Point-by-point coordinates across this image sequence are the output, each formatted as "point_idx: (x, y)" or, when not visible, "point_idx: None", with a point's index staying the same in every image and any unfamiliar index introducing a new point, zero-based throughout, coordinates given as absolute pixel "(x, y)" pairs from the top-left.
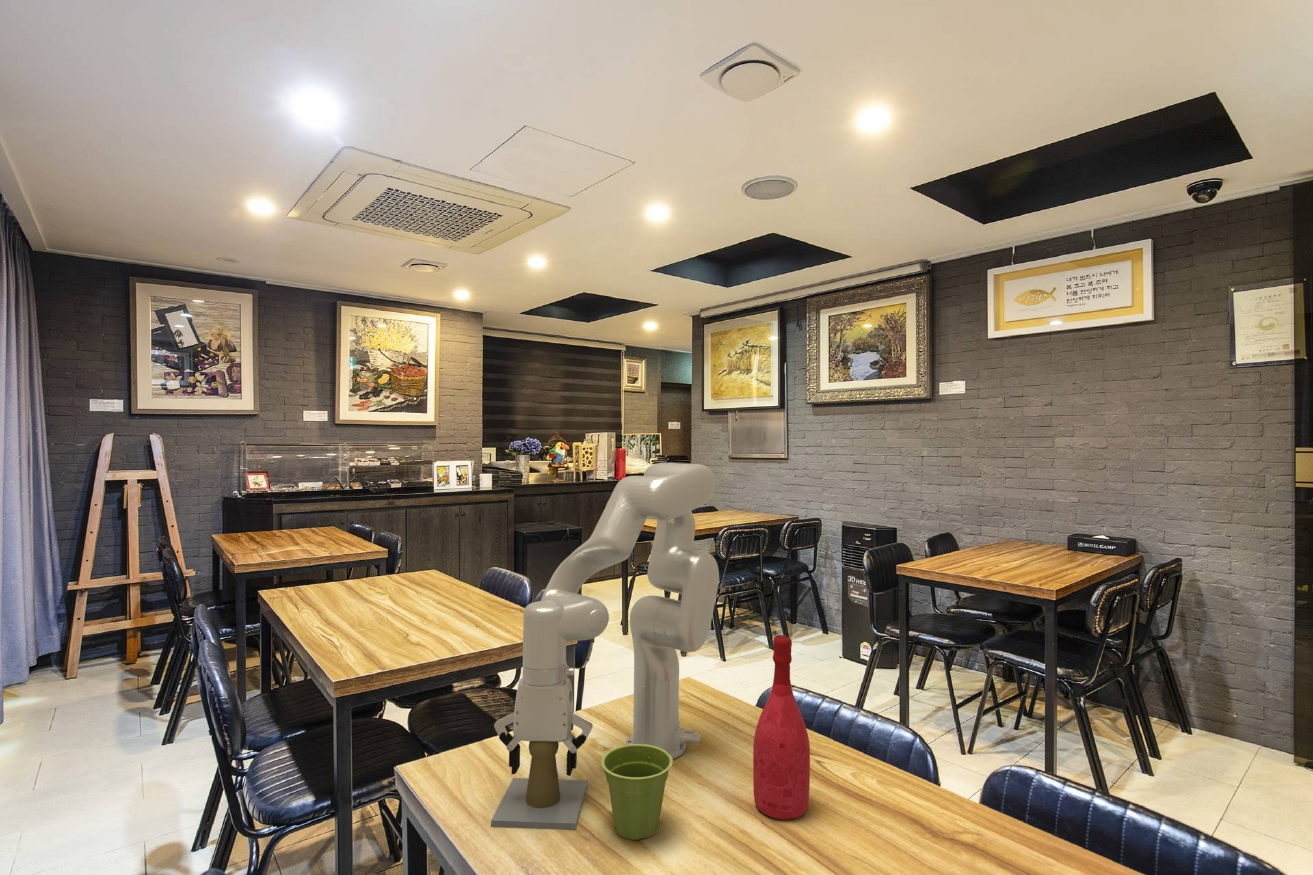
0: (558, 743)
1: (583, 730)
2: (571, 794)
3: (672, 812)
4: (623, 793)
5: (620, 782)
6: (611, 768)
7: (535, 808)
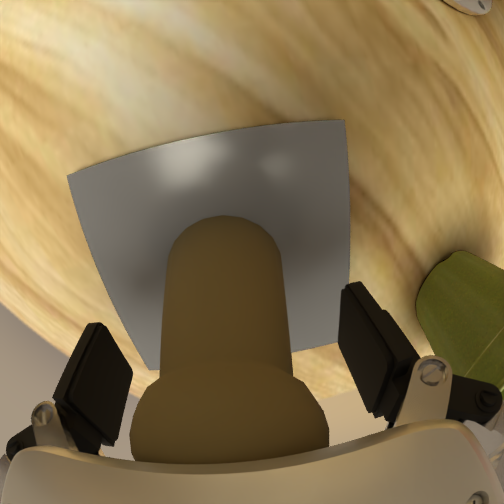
0: (328, 432)
1: (487, 453)
2: (311, 224)
3: (495, 224)
4: None
5: None
6: (481, 362)
7: None
